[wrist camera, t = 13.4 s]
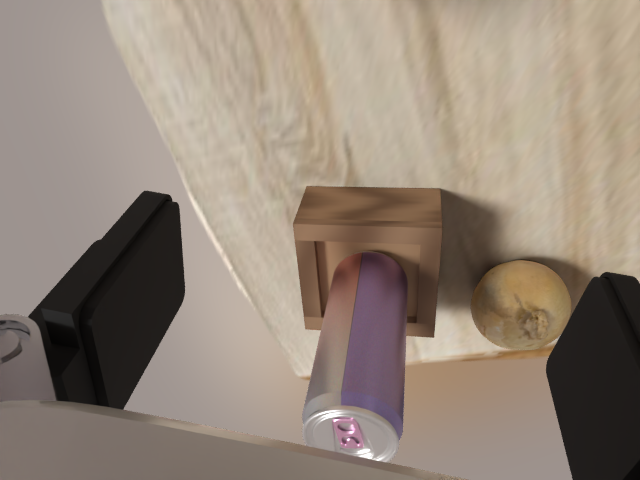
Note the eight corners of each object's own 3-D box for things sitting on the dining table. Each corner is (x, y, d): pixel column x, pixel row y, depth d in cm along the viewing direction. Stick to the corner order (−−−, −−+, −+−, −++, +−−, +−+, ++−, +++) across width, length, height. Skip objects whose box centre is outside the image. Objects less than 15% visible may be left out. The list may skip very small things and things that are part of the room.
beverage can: (402, 243, 39) (393, 407, 27) (412, 302, 42) (408, 472, 30) (326, 250, 41) (286, 409, 29) (342, 306, 44) (311, 470, 32)
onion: (569, 307, 47) (590, 368, 41) (480, 323, 49) (487, 382, 44) (554, 238, 43) (574, 294, 37) (458, 259, 46) (463, 314, 40)
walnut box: (440, 188, 42) (442, 228, 37) (432, 292, 48) (433, 337, 43) (306, 186, 44) (293, 223, 39) (316, 286, 50) (305, 329, 45)
